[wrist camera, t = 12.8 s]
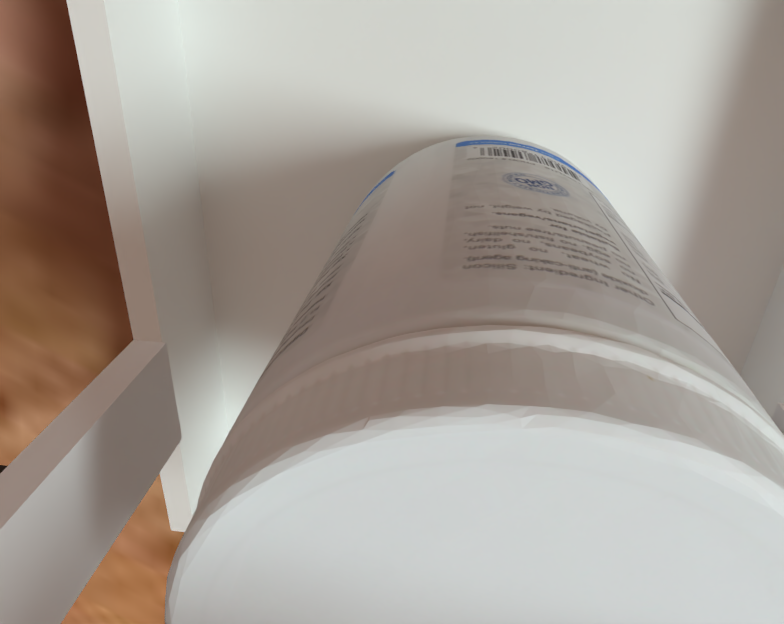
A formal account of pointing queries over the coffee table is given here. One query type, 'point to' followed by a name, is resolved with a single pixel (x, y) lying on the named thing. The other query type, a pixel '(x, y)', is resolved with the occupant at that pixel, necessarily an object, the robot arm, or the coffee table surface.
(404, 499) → the supplement tub
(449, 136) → the white bin
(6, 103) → the coffee table surface
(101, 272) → the coffee table surface
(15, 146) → the coffee table surface
